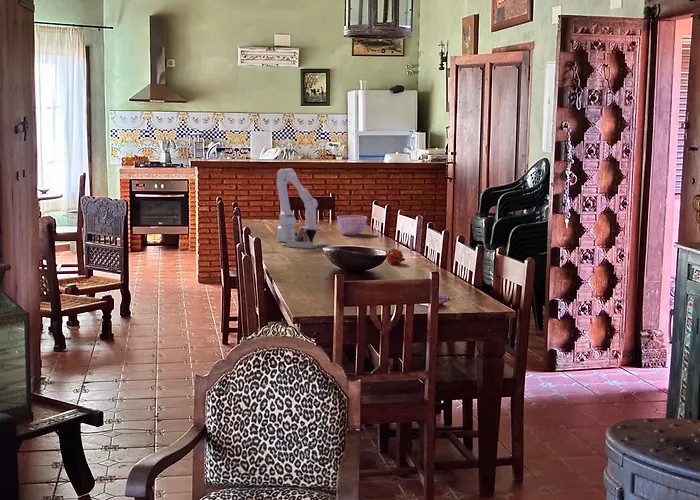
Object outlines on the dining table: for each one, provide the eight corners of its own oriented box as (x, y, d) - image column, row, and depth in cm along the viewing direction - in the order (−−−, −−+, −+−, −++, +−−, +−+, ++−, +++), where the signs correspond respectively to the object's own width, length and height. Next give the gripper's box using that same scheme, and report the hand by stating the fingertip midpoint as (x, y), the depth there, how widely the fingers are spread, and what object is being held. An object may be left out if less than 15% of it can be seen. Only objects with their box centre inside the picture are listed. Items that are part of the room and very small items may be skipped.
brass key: (283, 246, 497) (283, 244, 497) (280, 245, 499) (280, 244, 499) (291, 245, 502) (291, 243, 502) (288, 244, 504) (288, 242, 504)
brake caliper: (307, 243, 489) (296, 226, 491) (294, 254, 494) (283, 236, 496) (316, 241, 499) (305, 224, 501) (303, 251, 504) (292, 234, 506)
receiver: (283, 246, 495) (283, 240, 494) (297, 242, 512) (297, 236, 511) (314, 248, 487) (314, 242, 487) (327, 244, 505) (327, 238, 504)
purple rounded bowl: (331, 235, 548) (331, 217, 546) (343, 231, 566) (343, 214, 565) (360, 237, 541) (360, 219, 539) (371, 233, 559) (371, 216, 557)
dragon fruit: (393, 264, 445) (398, 272, 434) (381, 255, 443) (386, 262, 431) (403, 252, 444) (409, 259, 433) (391, 243, 441) (396, 249, 430)
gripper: (297, 219, 503) (296, 242, 505) (319, 221, 498) (319, 244, 500) (302, 218, 510) (302, 241, 512) (324, 219, 504) (324, 242, 506)
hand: (310, 242), depth 506 cm, fingers closed
